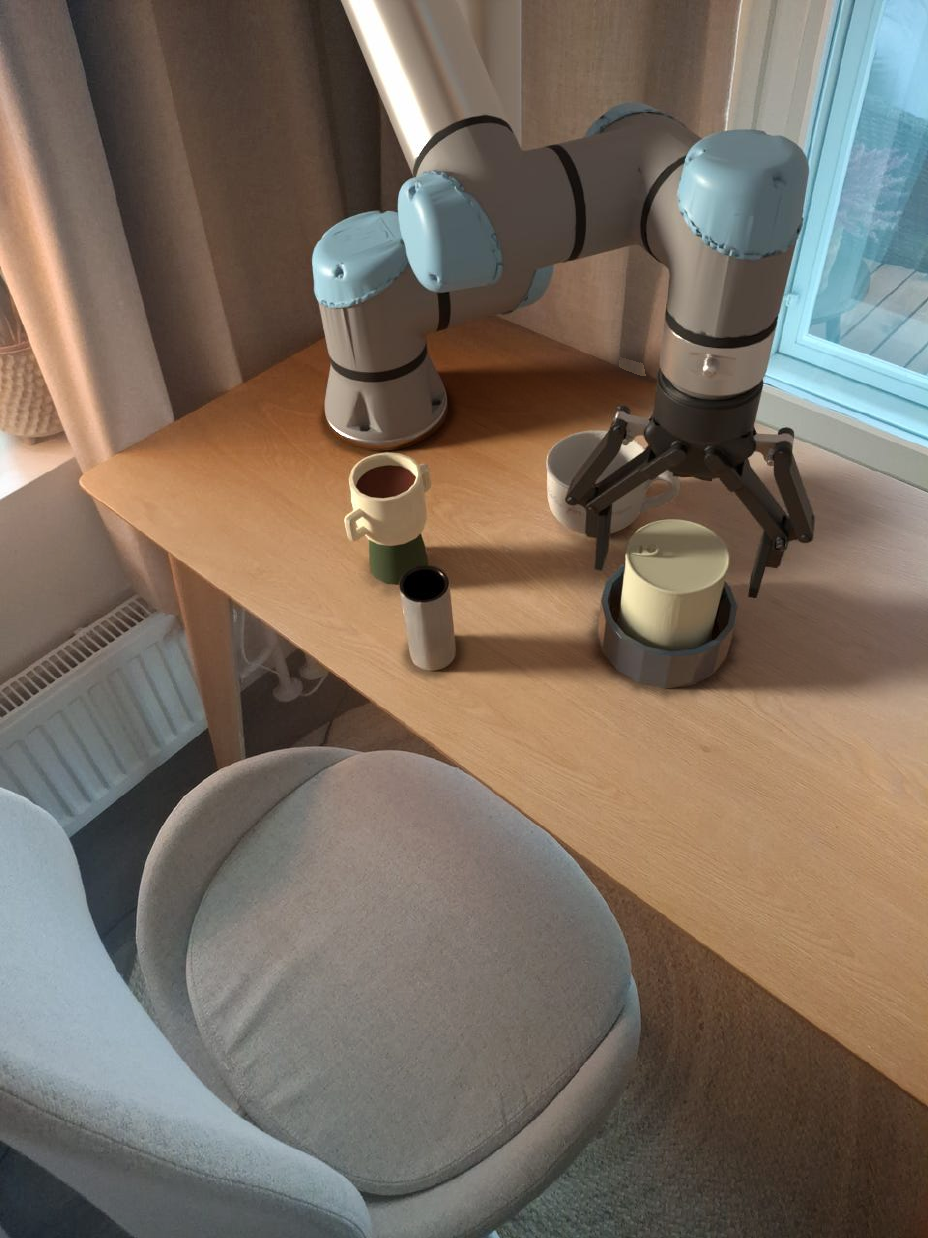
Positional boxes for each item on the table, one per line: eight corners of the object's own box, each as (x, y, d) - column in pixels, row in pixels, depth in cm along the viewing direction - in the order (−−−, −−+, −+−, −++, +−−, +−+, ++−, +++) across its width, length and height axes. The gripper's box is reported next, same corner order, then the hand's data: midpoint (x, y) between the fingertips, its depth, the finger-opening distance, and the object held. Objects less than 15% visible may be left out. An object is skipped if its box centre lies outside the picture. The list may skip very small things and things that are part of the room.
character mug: (414, 525, 101) (401, 432, 91) (459, 556, 97) (451, 463, 87) (339, 579, 96) (317, 487, 86) (383, 614, 93) (366, 522, 83)
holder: (575, 618, 91) (577, 585, 87) (676, 572, 94) (682, 538, 90) (647, 708, 84) (652, 676, 80) (754, 654, 87) (765, 621, 83)
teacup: (529, 531, 99) (529, 476, 93) (568, 471, 105) (571, 415, 99) (650, 571, 95) (659, 515, 88) (684, 505, 100) (695, 449, 94)
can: (618, 596, 93) (628, 510, 83) (710, 605, 91) (731, 518, 82) (612, 668, 87) (622, 584, 78) (711, 678, 85) (733, 594, 76)
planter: (400, 655, 89) (388, 585, 81) (432, 627, 91) (423, 557, 83) (433, 679, 87) (424, 610, 79) (465, 650, 89) (459, 580, 81)
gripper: (530, 379, 66) (530, 577, 82) (894, 427, 60) (818, 631, 76) (554, 323, 71) (550, 521, 87) (895, 363, 65) (823, 568, 81)
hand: (676, 573), depth 82 cm, fingers open, 13 cm apart
